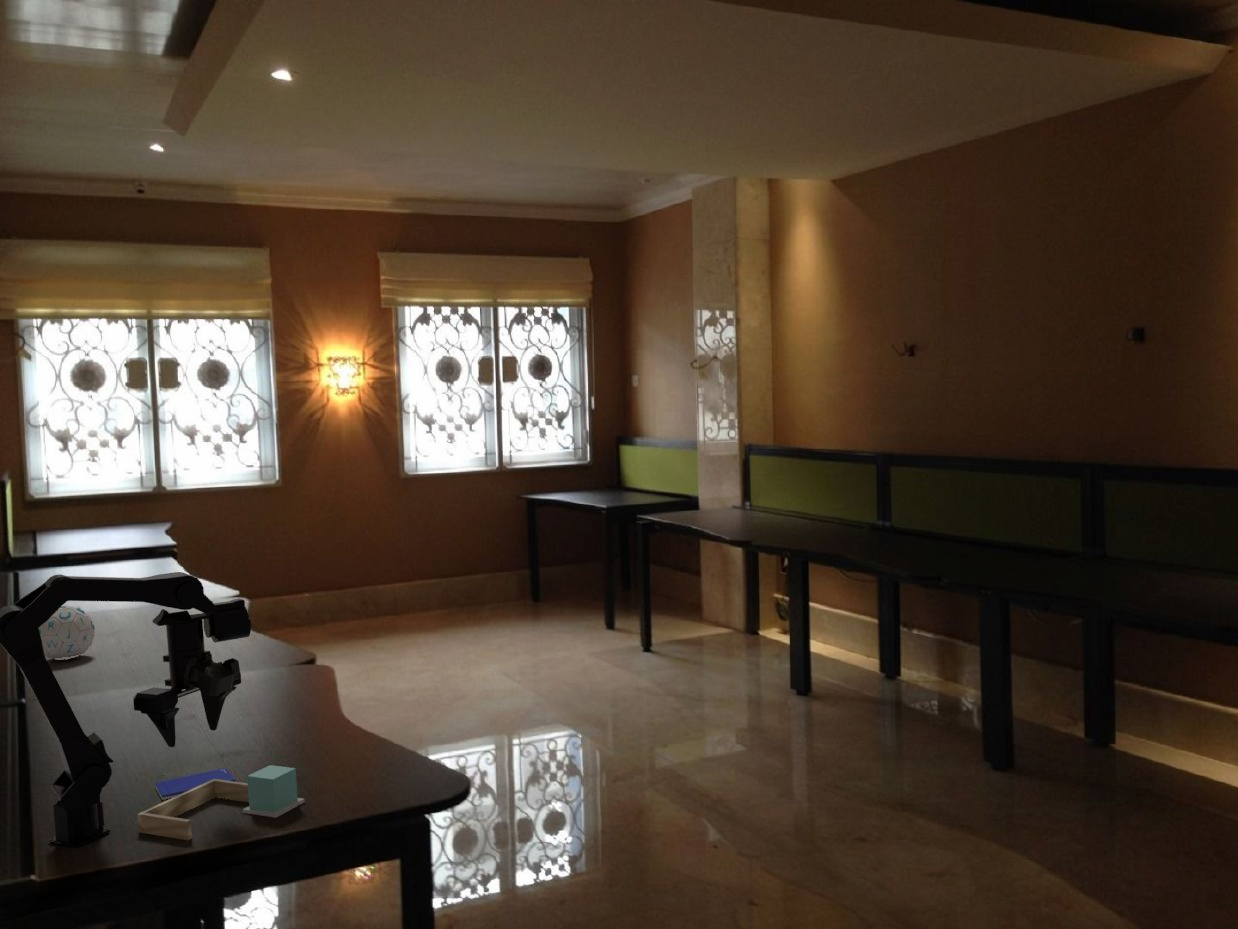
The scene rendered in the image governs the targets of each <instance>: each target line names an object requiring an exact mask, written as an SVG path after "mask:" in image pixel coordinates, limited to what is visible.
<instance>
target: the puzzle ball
mask: <svg viewBox="0 0 1238 929" xmlns="http://www.w3.org/2000/svg"><path fill="white" fill-rule="evenodd" d="M38 629H39V632H40V636H41V640H42V644H43V649H44V654H45V658H46V657H47V659H50V658H62V657H71V656H76V655H79V654H82V653H83V654H85V653H86V652H87V651H88V650H89V648H90V647H91V646H92V644H93V642H94V638H95V633H96V631H95V629H96V627H95V625H94V623H93V620H92V618H91V617H90V615H89V614H88V613H87V612H85V610H83V609H80V608H78V607H77V606H71V605H68V606H67V605H64V606H63V605H62V606H61V607H60V608H59V609H58V610H57V611H56V612H55V613H54V614H53V615H52V616H51V617H50V618H49V619H48V620H47V621H46V622H45V623H44V624H43V625H41V626H40V627H39V628H38ZM83 654H82V655H83Z"/></svg>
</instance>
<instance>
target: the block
mask: <svg viewBox="0 0 1238 929" xmlns="http://www.w3.org/2000/svg"><path fill="white" fill-rule="evenodd" d="M296 771H297V769H296V768H295V767H288V766H280V765H271V764H270V765H268V766H266V767H263V768H262V769H261V768H260V769H259V770H257V771H254V772H252V773H250V774H249V775H247V776H246V777H247V778H246V780H247V783H248V795H249V802H248V805H249V808H251V809H258V810H265V811H272V812H276V811H278V810H280V809H282V808H284V807H285V806H287V805H289V804H291V803H293V802H295V801H297V800H298V798H299V796H298V786H297V772H296Z"/></svg>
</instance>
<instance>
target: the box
mask: <svg viewBox="0 0 1238 929" xmlns="http://www.w3.org/2000/svg"><path fill="white" fill-rule="evenodd" d="M215 797H217V798H215ZM213 798H214V799H221V798H223V799H222V800H228V799H229V801H237V802H243V803H249V795H248V782H241V781H240V782H239V781H236V782H234V781H227V780H219V779H213V780H211V781H208V782H206V783H204V784H202V785H200V786H197V787H195V788H193V789H191V790H189V791H187V792H184V793H182V794H180V795H178V796H176V797H173V798H171V799H168V800H164V801H162V802H161V803H158V804H157V805H154V806H152V807H150V808H147V809H145V810H143V811H141V812H139V813H137V814H136V815H137V826H138V833H141V834H148V835H155V836H159V837H165V838H170V839H171V838H172V839H177V840H184V841H190V840H192V839H193V834H192V832H193V830H192V820H191V819H187V818H180V817H178V816H180V815H183V814H184V812H185V813H187V812H188V810H189V811H190V809H191V810H193V809H194V808H196V807H199V806H201V805H203V804H206V803H207V801H208V802H210V801H212V800H214V799H213ZM224 798H225V799H224ZM211 799H212V800H211ZM209 800H210V801H209ZM205 802H206V803H205ZM186 811H187V812H186ZM175 816H176V817H175Z"/></svg>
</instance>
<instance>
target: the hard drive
mask: <svg viewBox="0 0 1238 929" xmlns="http://www.w3.org/2000/svg"><path fill="white" fill-rule="evenodd" d="M213 779H219V780H227V781H234V782H237V780H236V778H235V777H234V775H233V774H232V773H231V772H230V770H229V769H228V767H223V768H218V769H213V770H209V771H205V772H199V773H196V774H190V775H186V776H180V777H177V778H171V779H166V780H162V781H159V782H155V783H154V788H155V790H156V791H157V794H158V795H159V797H160V799H161V800H163V801H167V800H166V799H168V800H169V798H173V797H176V796H178V795H180V794H182V793H184V792H187V791H189V790H191V789H193V788H195V787H197V786H200V785H202V784H204V783H206V782H208V781H211V780H213Z"/></svg>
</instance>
